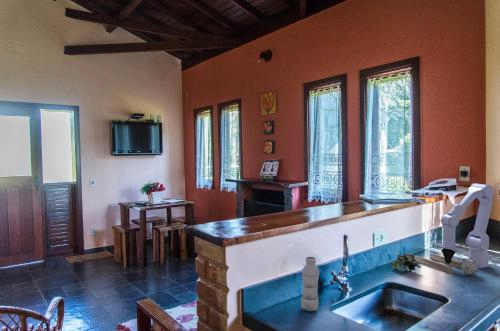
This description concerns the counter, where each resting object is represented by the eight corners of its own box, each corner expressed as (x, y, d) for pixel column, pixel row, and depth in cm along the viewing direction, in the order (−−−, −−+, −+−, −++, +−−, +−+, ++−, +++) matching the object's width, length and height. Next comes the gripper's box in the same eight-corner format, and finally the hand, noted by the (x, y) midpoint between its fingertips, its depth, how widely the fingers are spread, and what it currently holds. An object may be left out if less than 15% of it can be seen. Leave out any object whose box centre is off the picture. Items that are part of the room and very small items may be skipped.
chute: (431, 258, 209) (431, 253, 209) (468, 270, 189) (468, 264, 189) (414, 261, 204) (414, 255, 204) (450, 273, 184) (450, 267, 184)
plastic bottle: (299, 306, 143) (300, 255, 142) (316, 305, 143) (317, 255, 142) (302, 313, 136) (303, 260, 135) (320, 313, 137) (321, 260, 136)
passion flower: (409, 280, 188) (425, 264, 184) (401, 282, 180) (417, 265, 176) (393, 264, 195) (408, 248, 191) (384, 264, 187) (400, 248, 183)
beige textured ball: (473, 283, 181) (485, 271, 175) (455, 276, 182) (467, 263, 176) (471, 270, 188) (482, 258, 181) (454, 263, 189) (465, 250, 183)
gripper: (431, 235, 197) (430, 260, 197) (456, 241, 184) (455, 268, 184) (440, 234, 200) (439, 258, 200) (466, 240, 187) (464, 266, 187)
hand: (447, 263), depth 192 cm, fingers closed
